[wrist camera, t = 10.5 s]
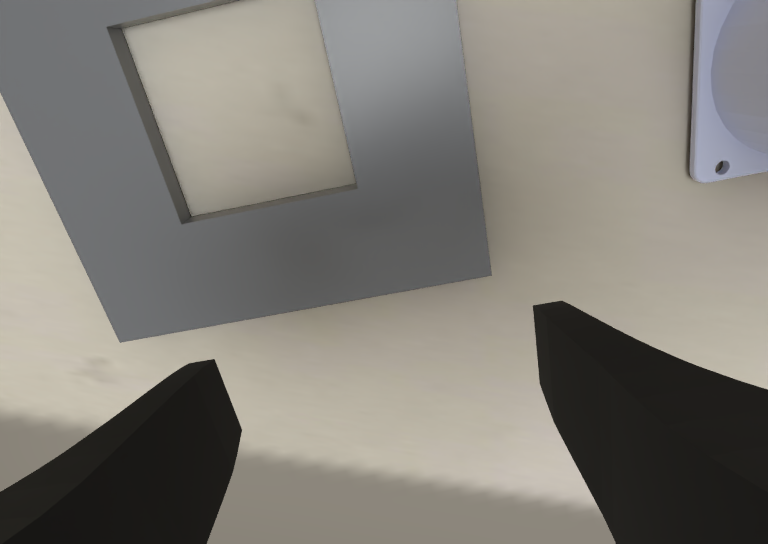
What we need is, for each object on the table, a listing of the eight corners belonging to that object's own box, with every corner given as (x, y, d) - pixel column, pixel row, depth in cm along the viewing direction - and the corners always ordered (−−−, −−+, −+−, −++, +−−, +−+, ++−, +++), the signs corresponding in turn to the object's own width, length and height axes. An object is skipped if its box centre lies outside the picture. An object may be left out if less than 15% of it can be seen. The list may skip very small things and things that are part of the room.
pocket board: (422, -225, 15) (424, -244, 14) (487, 266, 21) (491, 275, 20) (-65, -92, 16) (-92, -101, 15) (131, 330, 22) (120, 342, 21)
